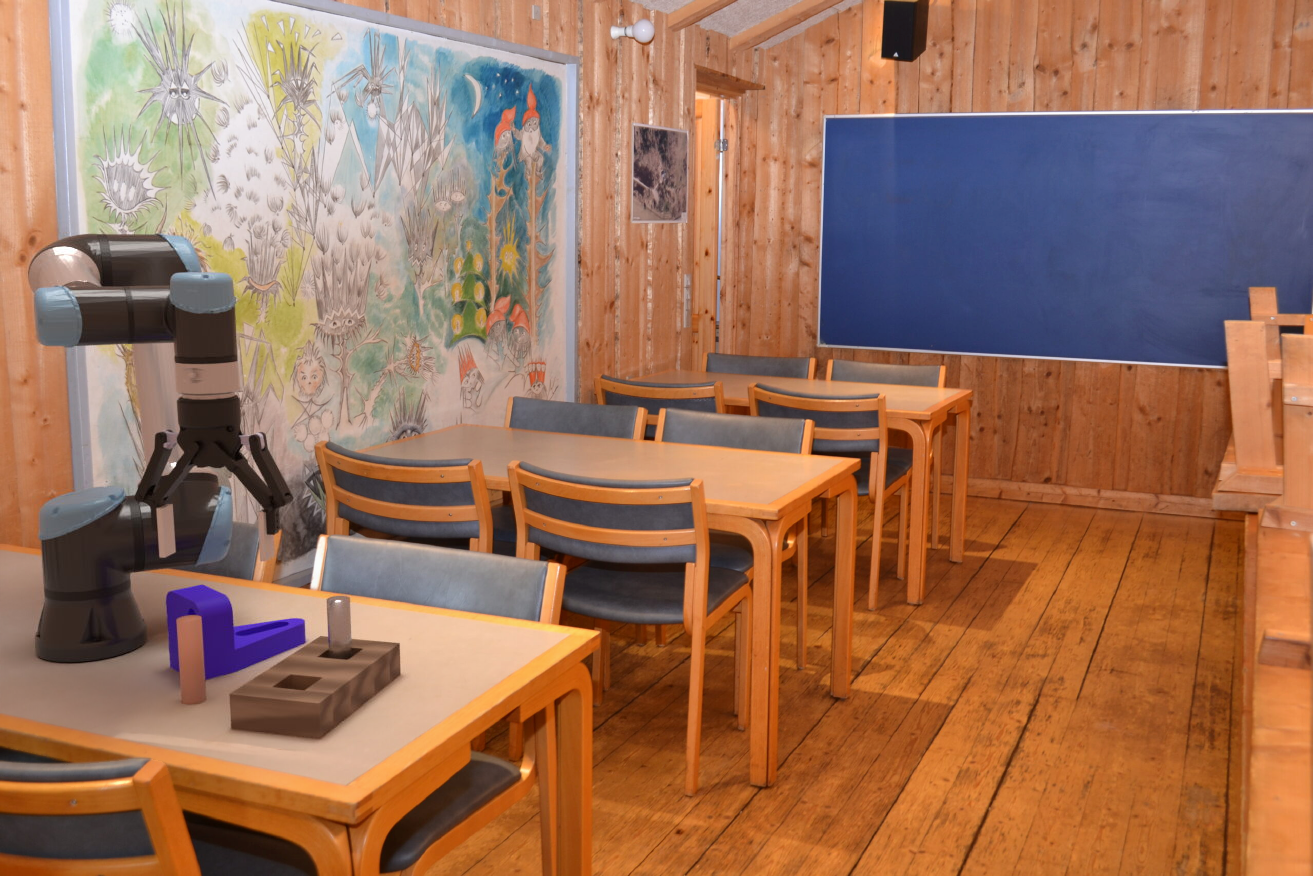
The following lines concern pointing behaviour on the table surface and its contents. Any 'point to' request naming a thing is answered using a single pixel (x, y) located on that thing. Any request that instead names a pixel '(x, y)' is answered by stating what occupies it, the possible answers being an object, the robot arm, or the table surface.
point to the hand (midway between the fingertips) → (217, 557)
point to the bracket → (228, 632)
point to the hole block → (314, 689)
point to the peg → (191, 659)
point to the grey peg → (339, 627)
